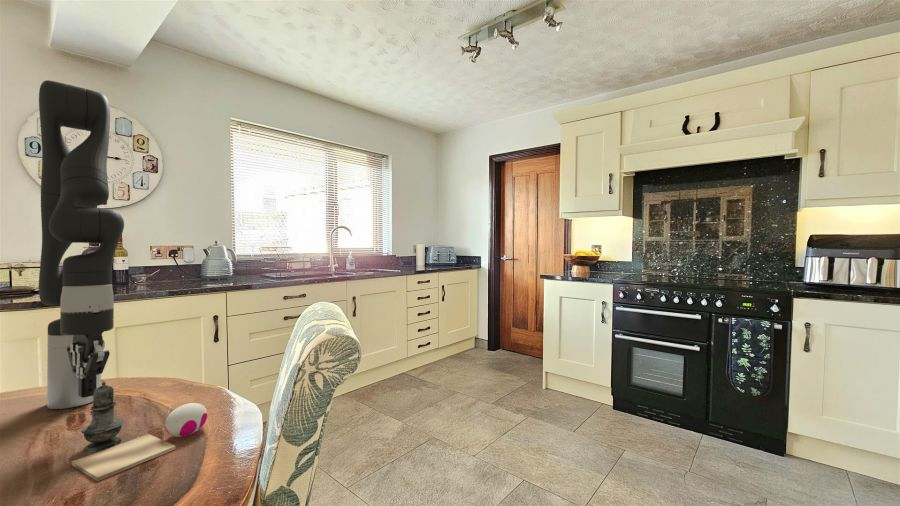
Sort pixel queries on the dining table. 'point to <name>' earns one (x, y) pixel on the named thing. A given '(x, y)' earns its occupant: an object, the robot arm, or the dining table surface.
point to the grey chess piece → (102, 421)
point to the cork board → (122, 456)
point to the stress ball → (186, 420)
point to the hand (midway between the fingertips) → (87, 395)
